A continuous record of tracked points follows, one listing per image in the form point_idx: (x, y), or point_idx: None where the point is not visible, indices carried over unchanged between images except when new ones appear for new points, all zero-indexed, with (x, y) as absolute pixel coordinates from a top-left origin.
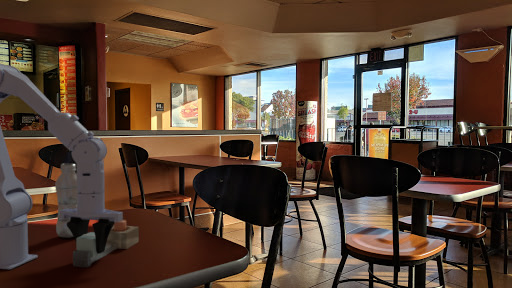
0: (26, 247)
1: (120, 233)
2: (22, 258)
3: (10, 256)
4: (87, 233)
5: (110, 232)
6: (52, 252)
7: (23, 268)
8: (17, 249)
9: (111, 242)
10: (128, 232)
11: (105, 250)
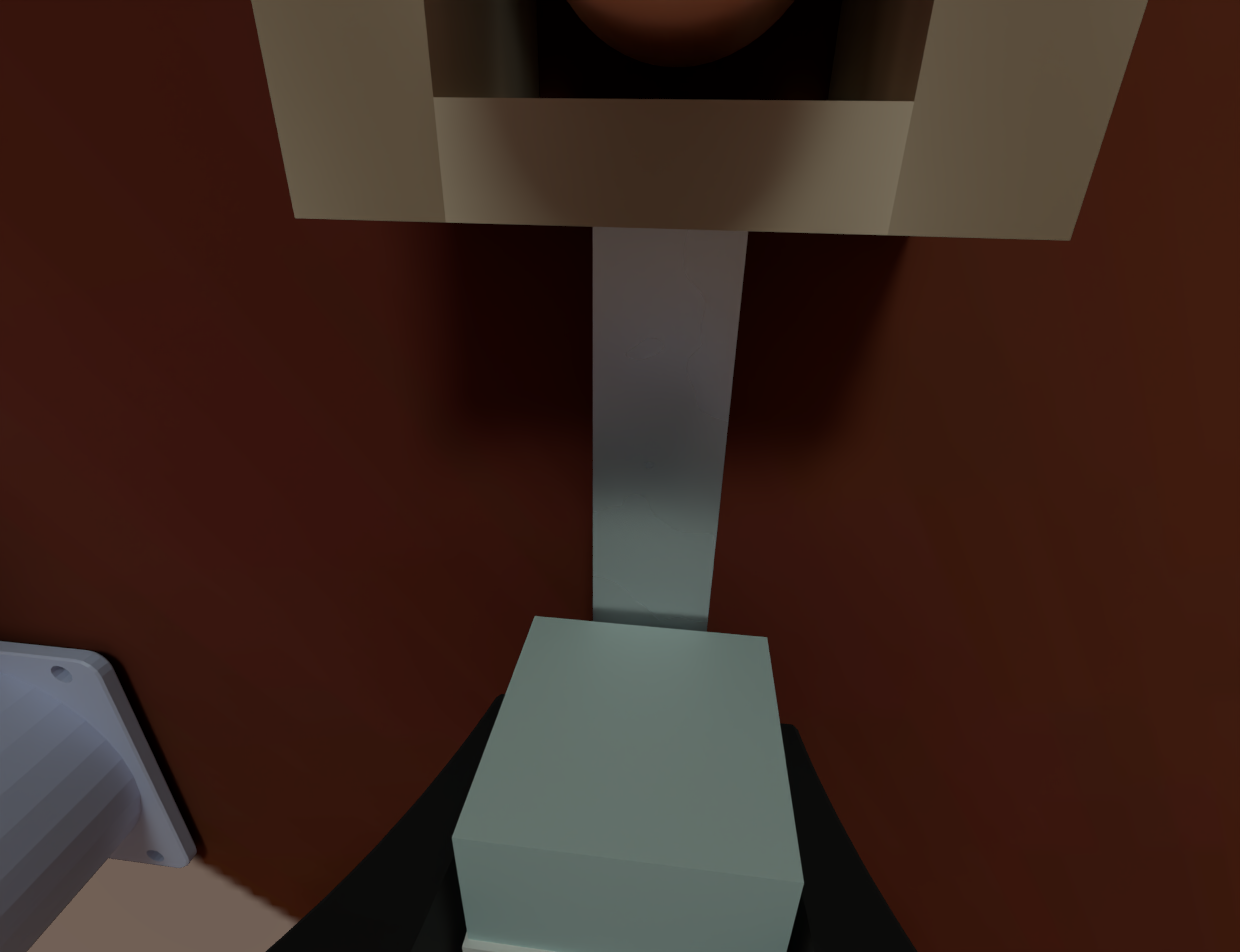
0: (6, 846)
1: (861, 228)
2: (116, 804)
3: (74, 896)
4: (466, 897)
5: (563, 223)
6: (71, 503)
7: (247, 819)
8: (35, 927)
9: (638, 248)
10: (1104, 121)
11: (764, 645)
